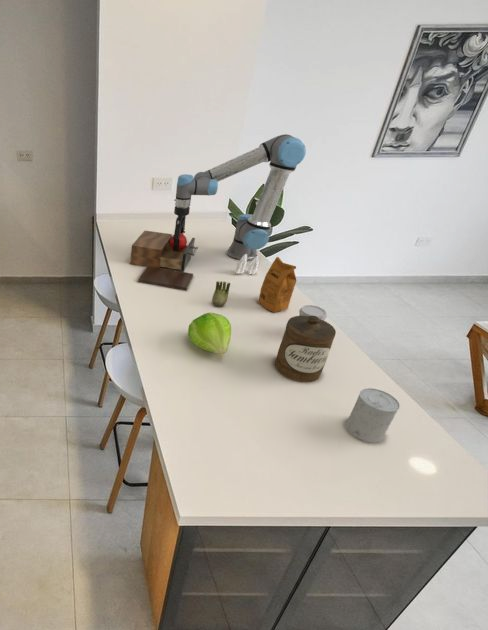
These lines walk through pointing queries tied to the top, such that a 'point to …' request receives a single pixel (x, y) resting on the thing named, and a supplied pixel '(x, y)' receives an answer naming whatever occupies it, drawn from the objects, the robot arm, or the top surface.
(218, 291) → the fennel bulb
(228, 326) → the lettuce
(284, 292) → the coffee package
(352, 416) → the grey metal can
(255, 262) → the shaker set
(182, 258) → the drawer
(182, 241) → the apple
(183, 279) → the board
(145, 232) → the cabinet
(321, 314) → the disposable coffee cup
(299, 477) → the top surface
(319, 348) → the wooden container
